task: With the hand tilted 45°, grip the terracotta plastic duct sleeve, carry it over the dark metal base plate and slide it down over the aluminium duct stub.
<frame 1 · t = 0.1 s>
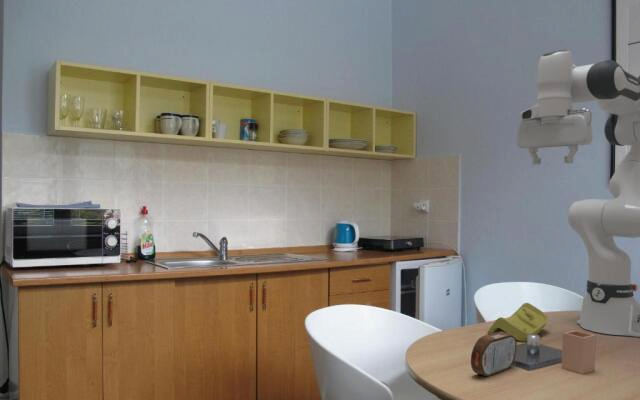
hand: (552, 163, 146), 48 cm above the table, tool pointing down, fingers open, 8 cm apart
duct sleeve: (578, 369, 125), on the table
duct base: (530, 357, 133), on the table
tin: (494, 373, 121), on the table
plastic component: (520, 335, 156), on the table
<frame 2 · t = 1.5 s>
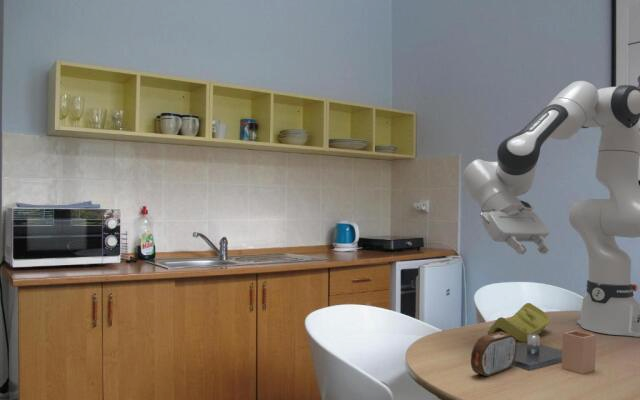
hand: (534, 252, 135), 25 cm above the table, tool tilted 45°, fingers open, 8 cm apart
nothing on the table moved.
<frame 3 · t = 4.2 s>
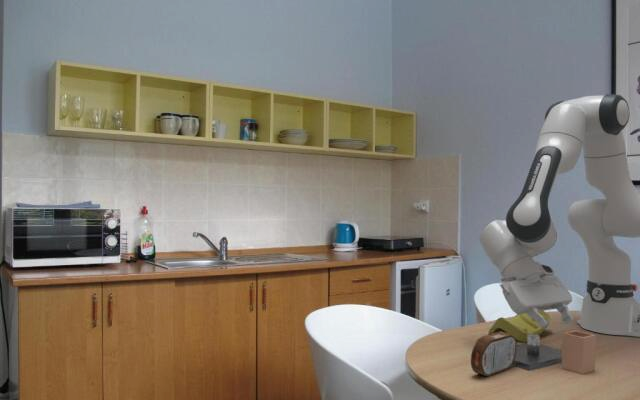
hand: (558, 324, 129), 9 cm above the table, tool tilted 45°, fingers open, 8 cm apart
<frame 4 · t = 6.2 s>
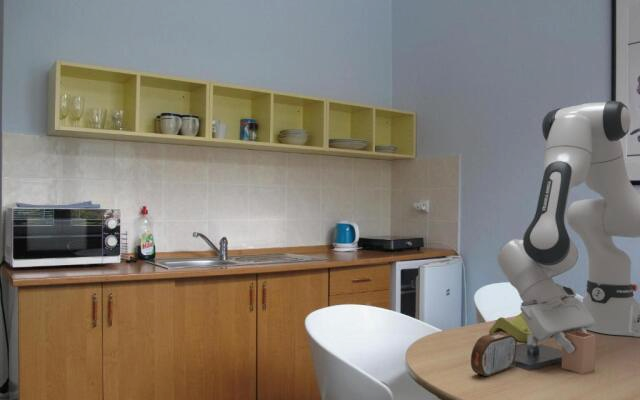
hand: (581, 349, 124), 5 cm above the table, tool tilted 45°, fingers closed on duct sleeve, 5 cm apart
duct sleeve: (578, 369, 125), on the table, touching gripper
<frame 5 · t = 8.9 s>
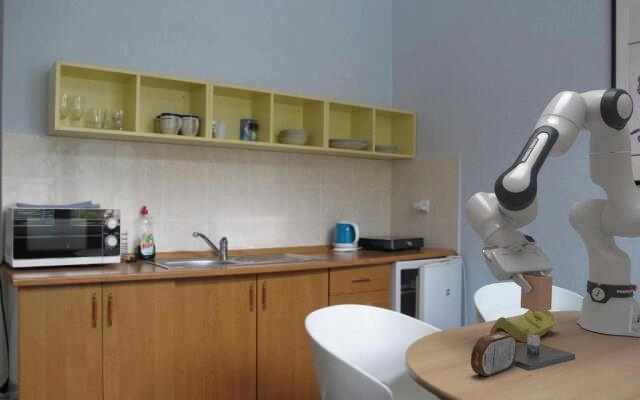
hand: (538, 290, 132), 16 cm above the table, tool tilted 45°, fingers closed on duct sleeve, 5 cm apart
duct sleeve: (535, 308, 133), point 12 cm above the table, touching gripper
when the fingers open (7 cm above the table, at t = 11.5 s): duct sleeve drops 1 cm, resting on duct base.
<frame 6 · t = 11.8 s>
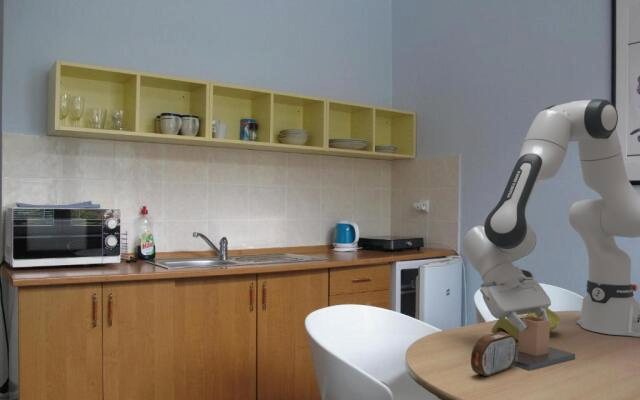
hand: (536, 327, 133), 7 cm above the table, tool tilted 45°, fingers open, 8 cm apart
duct sleeve: (533, 352, 134), point 1 cm above the table, touching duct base
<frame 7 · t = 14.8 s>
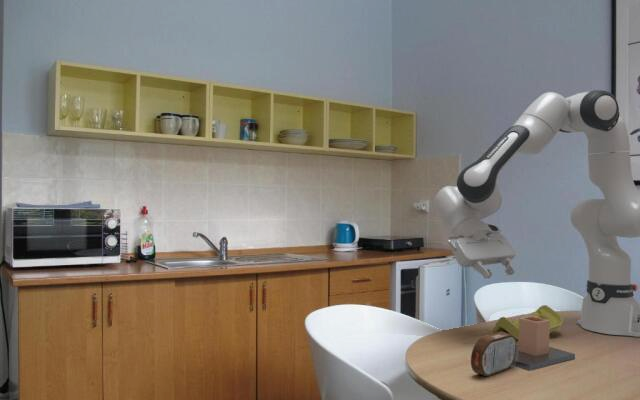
hand: (500, 275, 144), 18 cm above the table, tool tilted 45°, fingers open, 8 cm apart
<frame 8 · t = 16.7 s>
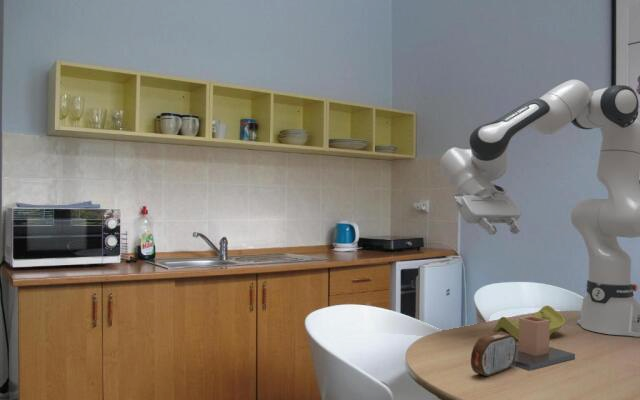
hand: (505, 232, 144), 29 cm above the table, tool tilted 45°, fingers open, 8 cm apart
at the end: duct sleeve 0.1 cm from the target spot on the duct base, point 1.2 cm above the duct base's base; duct sleeve tilted 0°; the gripper is holding nothing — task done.
